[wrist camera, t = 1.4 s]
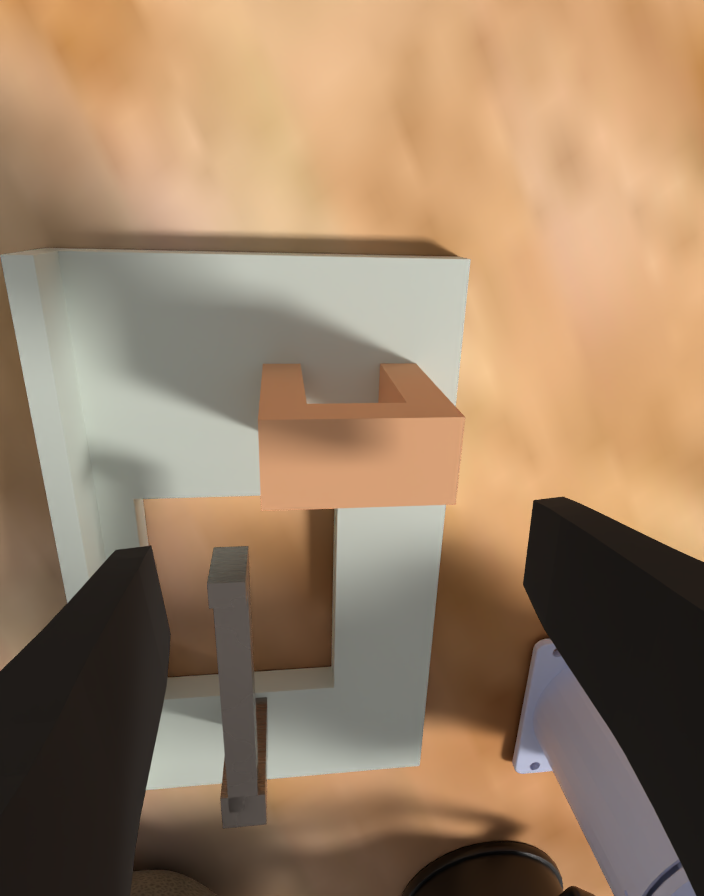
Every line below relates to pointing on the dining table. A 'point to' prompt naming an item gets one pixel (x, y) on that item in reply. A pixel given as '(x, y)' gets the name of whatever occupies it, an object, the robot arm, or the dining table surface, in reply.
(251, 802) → the hook arm
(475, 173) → the dining table surface
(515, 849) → the french press
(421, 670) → the grey base plate
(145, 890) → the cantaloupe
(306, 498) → the peach u-shaped bracket
